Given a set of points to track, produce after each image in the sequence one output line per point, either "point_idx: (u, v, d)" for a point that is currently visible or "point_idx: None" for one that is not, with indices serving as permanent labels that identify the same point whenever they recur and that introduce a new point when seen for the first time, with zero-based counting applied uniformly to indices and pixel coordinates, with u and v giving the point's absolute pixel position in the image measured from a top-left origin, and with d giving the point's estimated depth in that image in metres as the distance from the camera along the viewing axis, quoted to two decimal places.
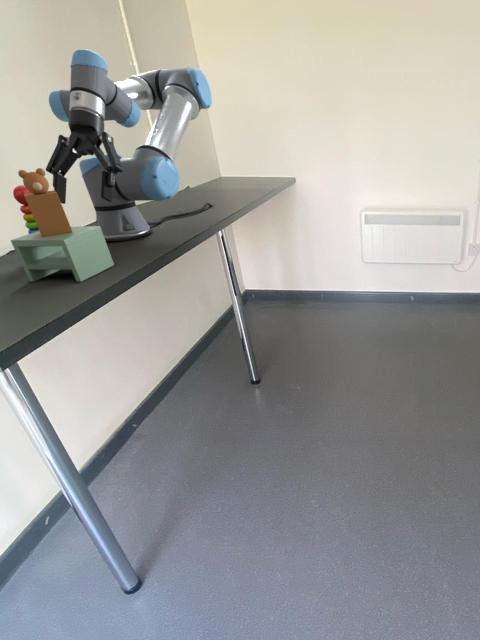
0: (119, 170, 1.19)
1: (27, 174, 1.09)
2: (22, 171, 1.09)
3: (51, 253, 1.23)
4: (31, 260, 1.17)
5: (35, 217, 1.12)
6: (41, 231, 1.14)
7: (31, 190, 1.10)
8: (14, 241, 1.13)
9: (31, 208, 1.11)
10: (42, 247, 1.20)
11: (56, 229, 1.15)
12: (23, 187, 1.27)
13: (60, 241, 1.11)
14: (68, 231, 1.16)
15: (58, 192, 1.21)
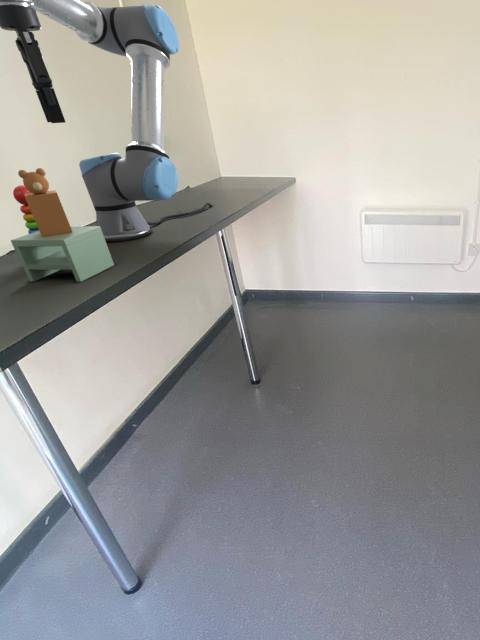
0: (47, 83, 1.02)
1: (27, 174, 1.09)
2: (22, 171, 1.09)
3: (51, 253, 1.23)
4: (31, 260, 1.17)
5: (35, 217, 1.12)
6: (41, 231, 1.14)
7: (31, 190, 1.10)
8: (14, 241, 1.13)
9: (31, 208, 1.11)
10: (42, 247, 1.20)
11: (56, 229, 1.15)
12: (23, 187, 1.27)
13: (60, 241, 1.11)
14: (68, 231, 1.16)
15: (46, 113, 1.16)
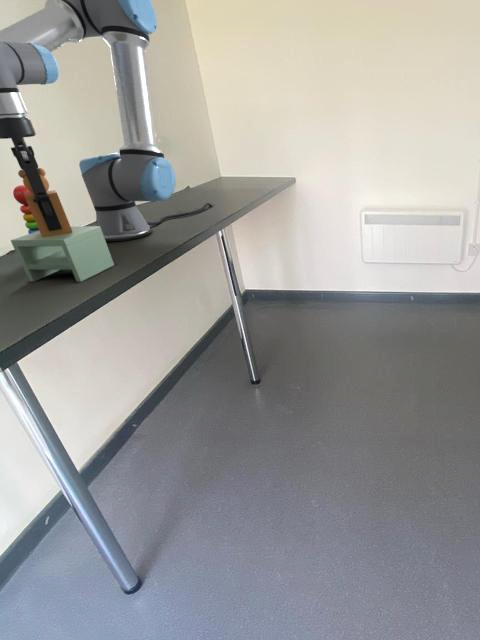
0: (44, 198, 1.09)
1: None
2: (22, 171, 1.09)
3: (51, 253, 1.23)
4: (31, 260, 1.17)
5: (35, 217, 1.12)
6: (41, 231, 1.14)
7: (31, 190, 1.10)
8: (14, 241, 1.13)
9: (31, 208, 1.11)
10: (42, 247, 1.20)
11: None
12: (23, 187, 1.27)
13: (60, 241, 1.11)
14: (68, 231, 1.16)
15: None
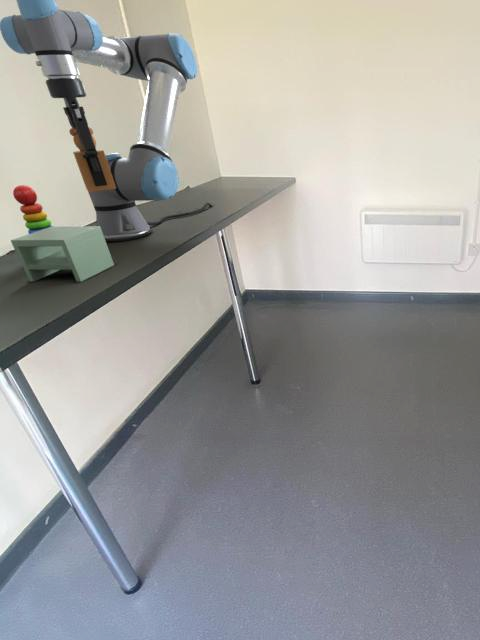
0: (93, 154, 1.19)
1: None
2: (73, 129, 1.18)
3: (51, 253, 1.23)
4: (31, 260, 1.17)
5: (83, 172, 1.22)
6: (88, 186, 1.23)
7: (80, 147, 1.20)
8: (14, 241, 1.13)
9: (80, 164, 1.20)
10: (42, 247, 1.20)
11: None
12: (23, 187, 1.27)
13: (60, 241, 1.11)
14: (112, 187, 1.26)
15: None
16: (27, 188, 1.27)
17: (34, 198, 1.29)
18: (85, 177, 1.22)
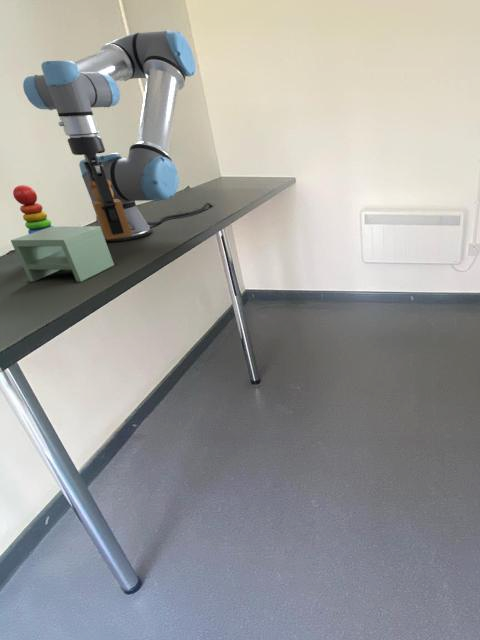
0: (111, 206, 1.25)
1: None
2: (92, 182, 1.25)
3: (51, 253, 1.23)
4: (31, 260, 1.17)
5: (102, 222, 1.28)
6: (106, 234, 1.30)
7: (99, 199, 1.27)
8: (14, 241, 1.13)
9: (99, 214, 1.27)
10: (42, 247, 1.20)
11: None
12: (23, 187, 1.27)
13: (60, 241, 1.11)
14: (128, 234, 1.33)
15: None
16: (27, 188, 1.27)
17: (34, 198, 1.29)
18: (103, 226, 1.29)
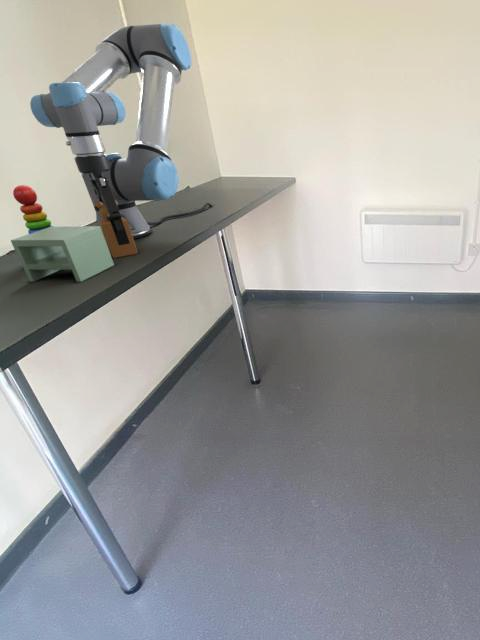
0: (117, 217, 1.24)
1: (103, 205, 1.28)
2: (99, 202, 1.28)
3: (51, 253, 1.23)
4: (31, 260, 1.17)
5: (108, 241, 1.31)
6: (113, 253, 1.33)
7: (106, 218, 1.29)
8: (14, 241, 1.13)
9: (106, 234, 1.30)
10: (42, 247, 1.20)
11: (125, 251, 1.34)
12: (23, 187, 1.27)
13: (60, 241, 1.11)
14: (134, 252, 1.35)
15: None
16: (27, 188, 1.27)
17: (34, 198, 1.29)
18: (110, 245, 1.31)
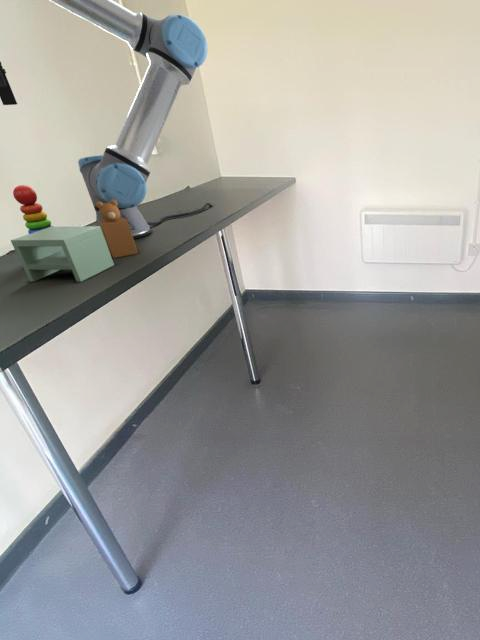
0: None
1: (103, 205, 1.28)
2: (99, 202, 1.28)
3: (51, 253, 1.23)
4: (31, 260, 1.17)
5: (108, 241, 1.31)
6: (113, 253, 1.33)
7: (106, 218, 1.29)
8: (14, 241, 1.13)
9: (106, 234, 1.30)
10: (42, 247, 1.20)
11: (125, 251, 1.34)
12: (23, 187, 1.27)
13: (60, 241, 1.11)
14: (134, 252, 1.35)
15: None
16: (27, 188, 1.27)
17: (34, 198, 1.29)
18: (110, 245, 1.31)
